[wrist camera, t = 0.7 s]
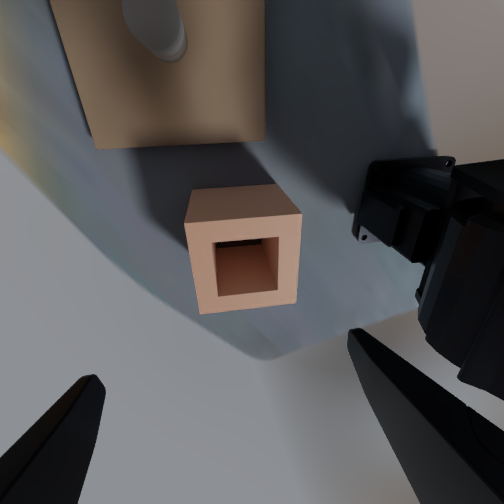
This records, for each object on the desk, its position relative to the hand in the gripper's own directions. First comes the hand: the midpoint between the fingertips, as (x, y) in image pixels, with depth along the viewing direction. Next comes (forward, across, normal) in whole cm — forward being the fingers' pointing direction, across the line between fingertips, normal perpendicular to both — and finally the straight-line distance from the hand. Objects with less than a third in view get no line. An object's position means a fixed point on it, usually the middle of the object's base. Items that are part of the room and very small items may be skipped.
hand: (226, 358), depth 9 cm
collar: (+12, -1, 0) cm, 12 cm away
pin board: (+12, +1, -11) cm, 16 cm away
